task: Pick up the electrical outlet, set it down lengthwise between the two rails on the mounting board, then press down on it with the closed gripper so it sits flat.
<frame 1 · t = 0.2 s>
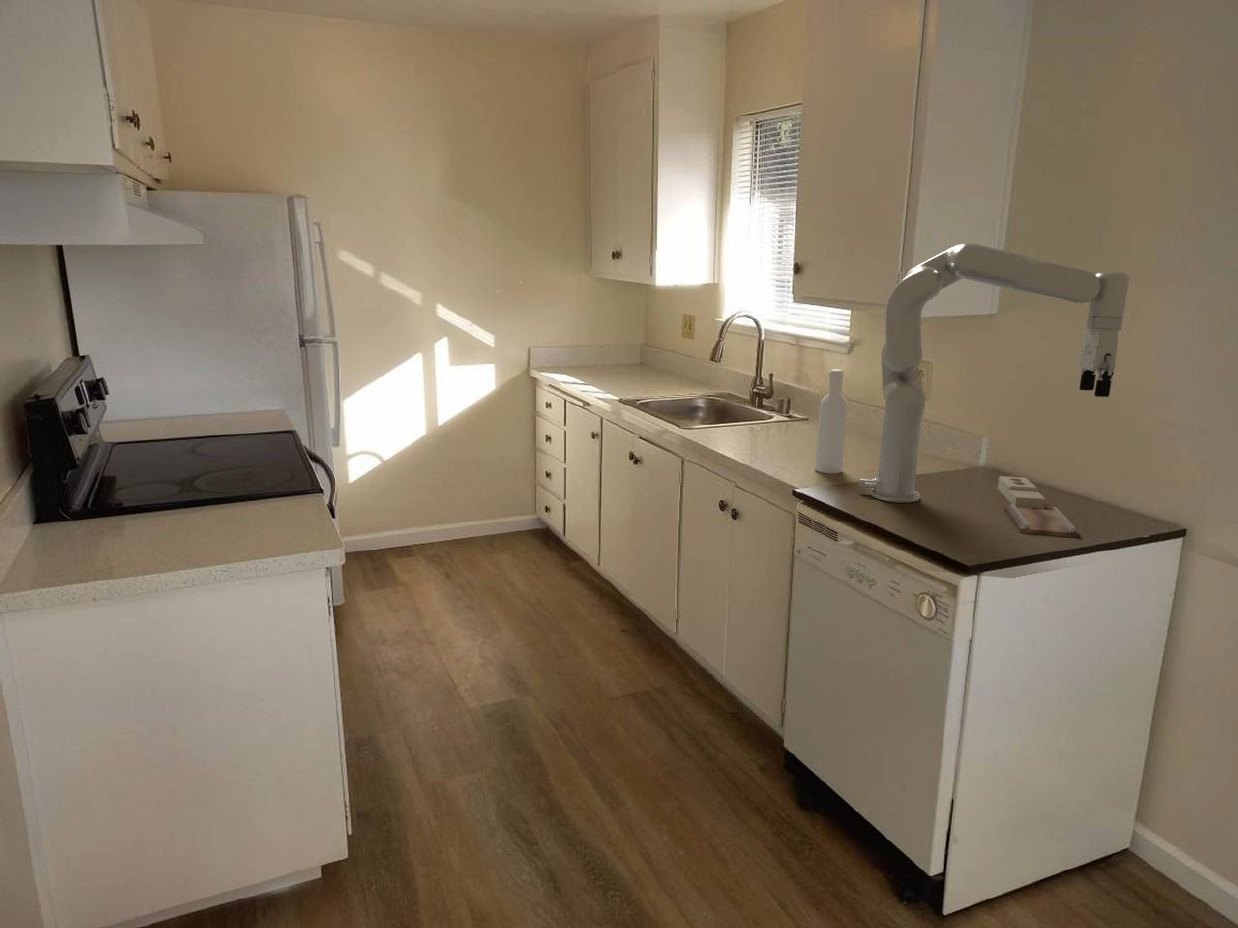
hand: (1093, 393, 214), 30 cm above the worktop, tool pointing down, fingers open, 9 cm apart
bottle: (828, 471, 256), on the worktop
electrical outlet: (1019, 500, 231), on the worktop
rail board: (1040, 523, 210), on the worktop
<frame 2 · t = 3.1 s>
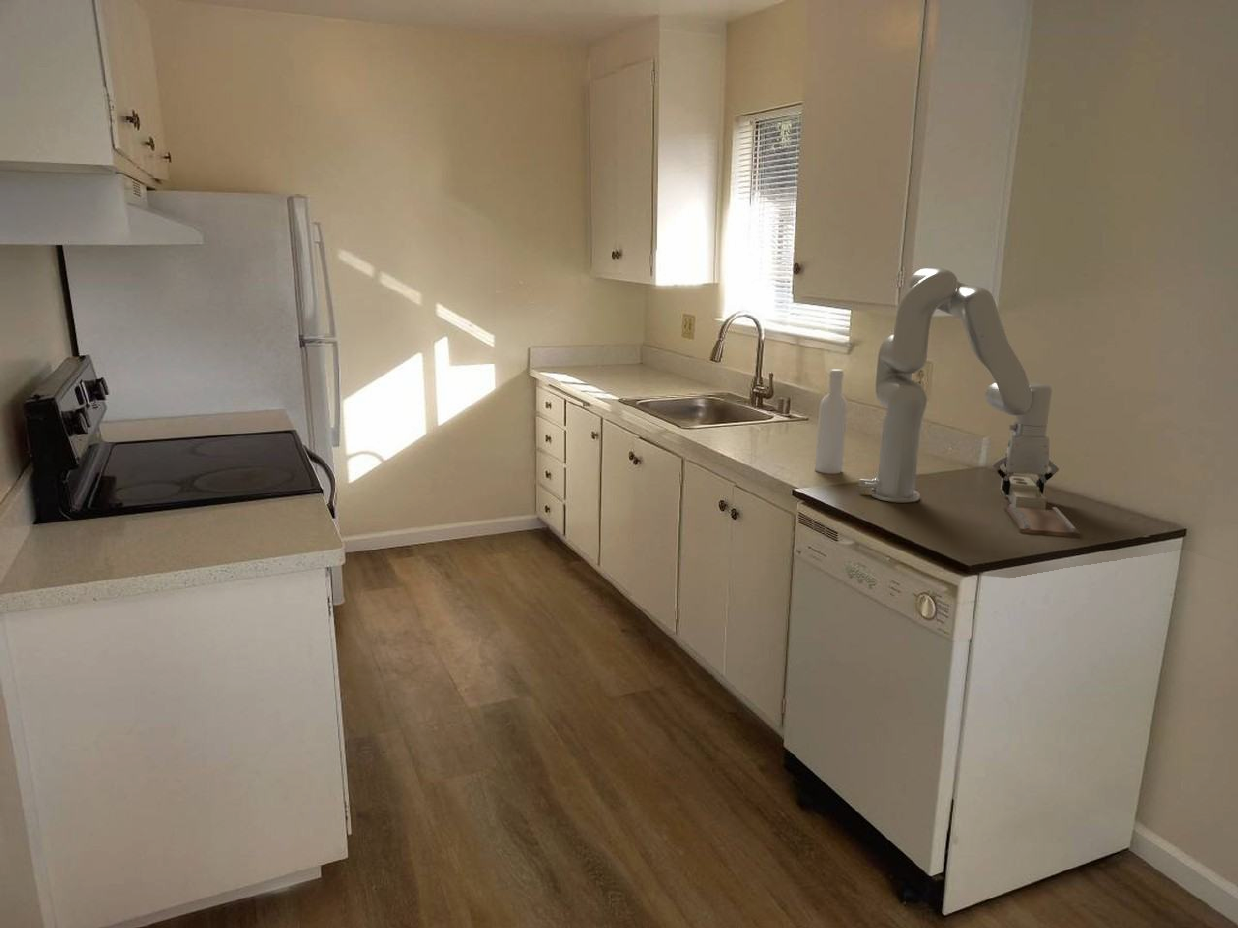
hand: (1021, 494, 231), 1 cm above the worktop, tool pointing down, fingers closed on electrical outlet, 7 cm apart
electrical outlet: (1021, 500, 230), on the worktop, touching gripper
everything else where it was.
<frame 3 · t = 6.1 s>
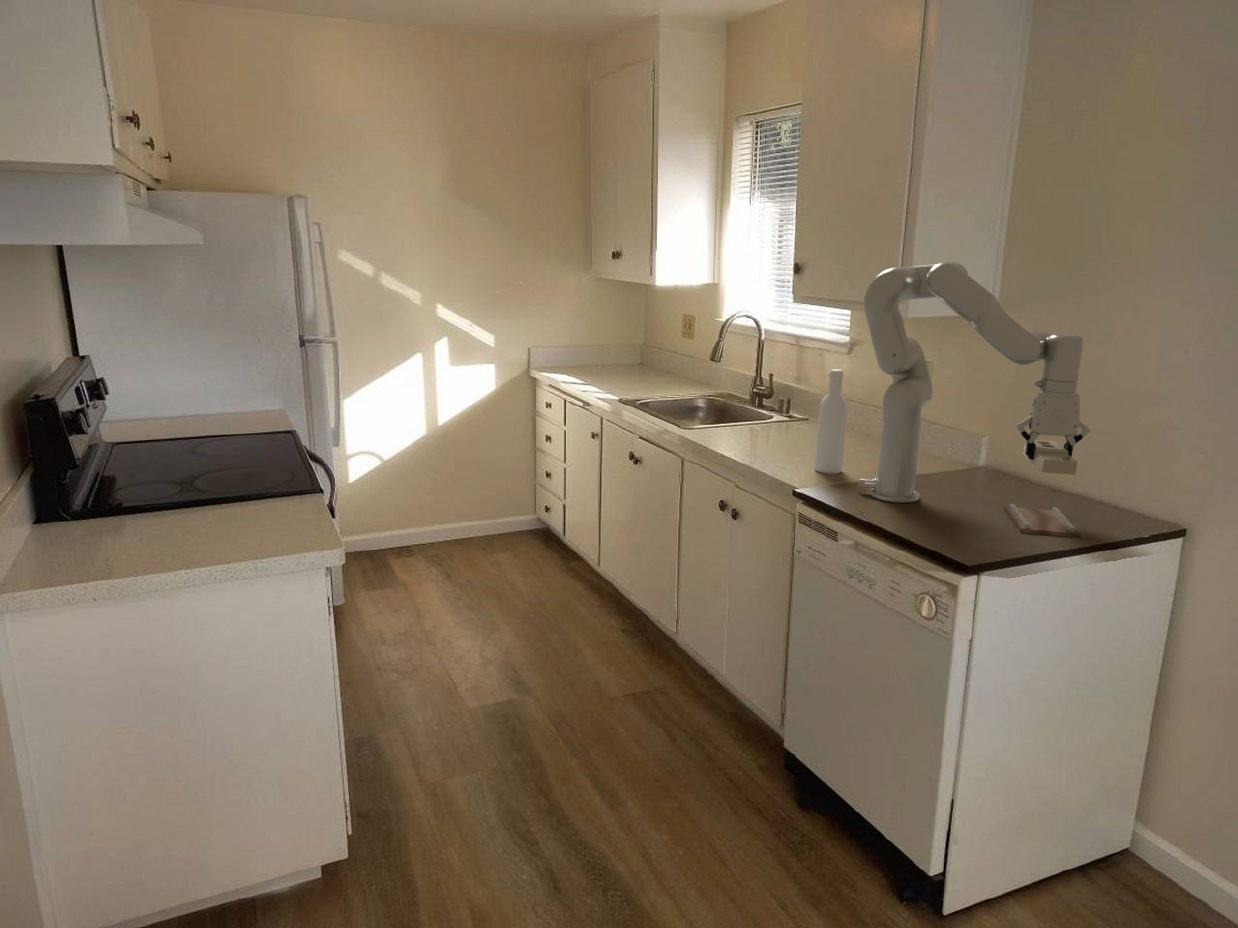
hand: (1047, 459, 208), 16 cm above the worktop, tool pointing down, fingers closed on electrical outlet, 7 cm apart
electrical outlet: (1047, 464, 207), point 15 cm above the worktop, touching gripper
everything else where it was.
when the fingers open (4 cm above the worktop, at t = 9.0 s): electrical outlet drops 2 cm, resting on rail board.
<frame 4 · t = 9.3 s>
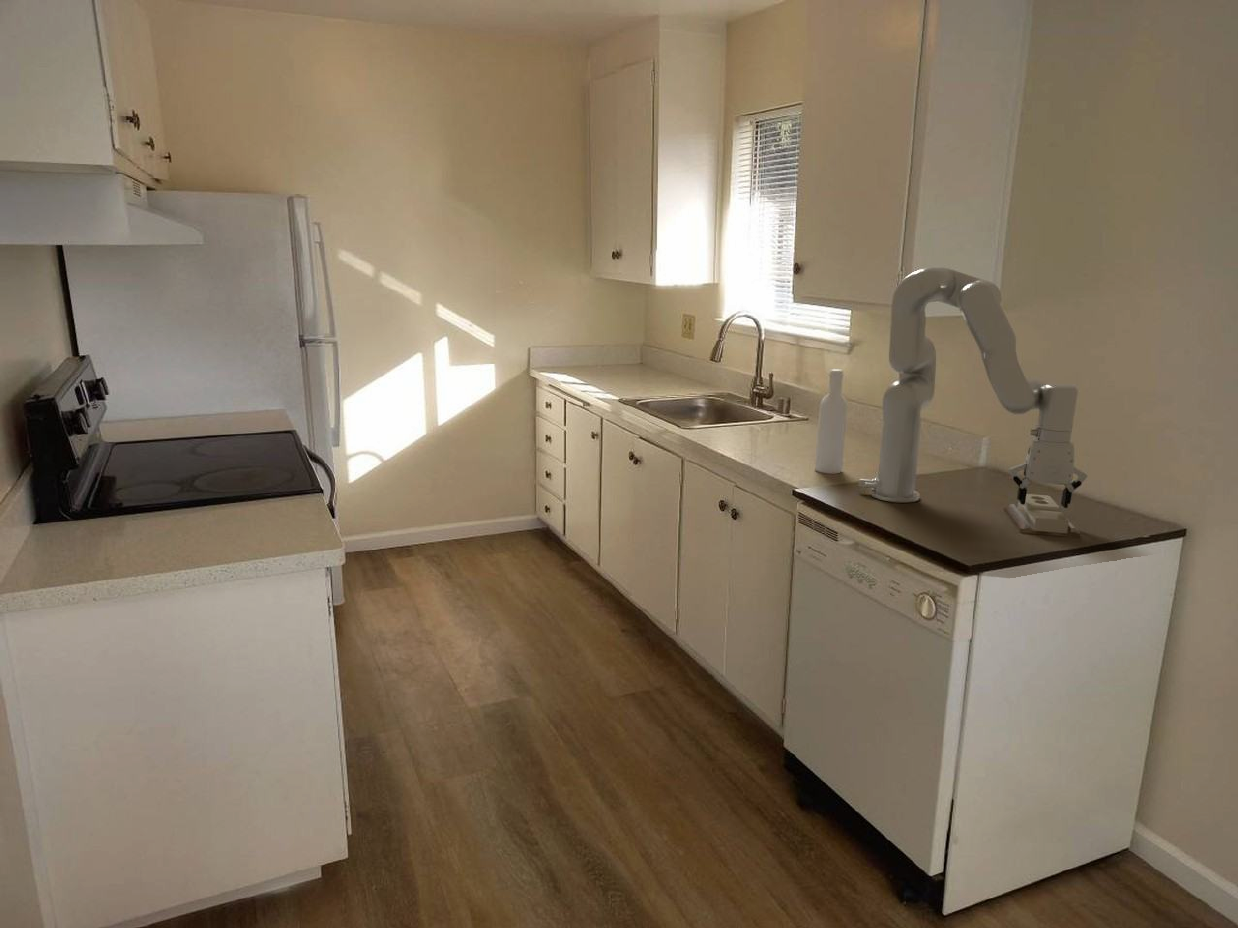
hand: (1042, 504, 209), 5 cm above the worktop, tool pointing down, fingers open, 9 cm apart
electrical outlet: (1040, 521, 209), point 1 cm above the worktop, touching rail board
everything else where it was.
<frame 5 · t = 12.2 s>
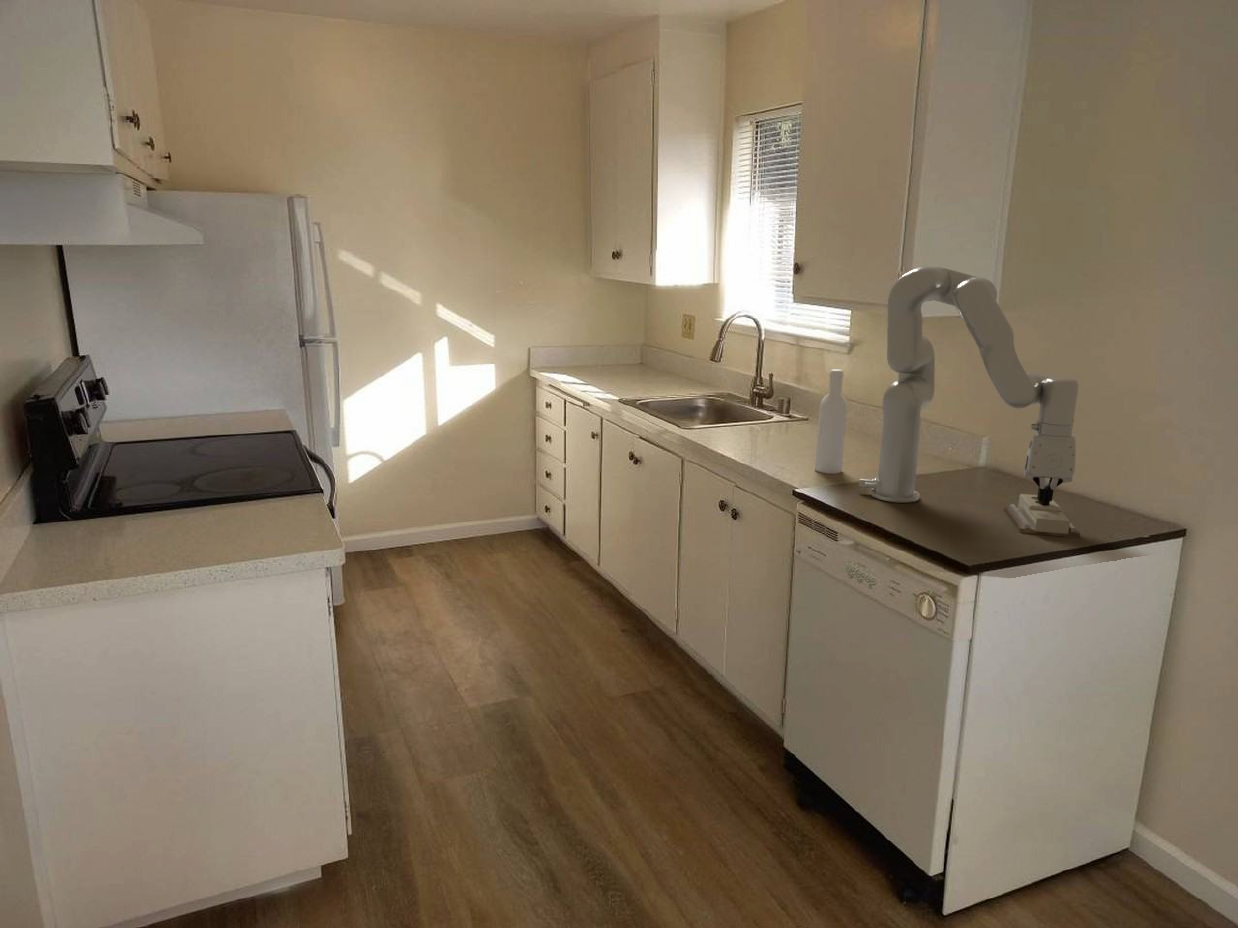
hand: (1043, 503, 209), 5 cm above the worktop, tool pointing down, fingers closed
electrical outlet: (1041, 521, 209), point 1 cm above the worktop, touching gripper, rail board
everything else where it was.
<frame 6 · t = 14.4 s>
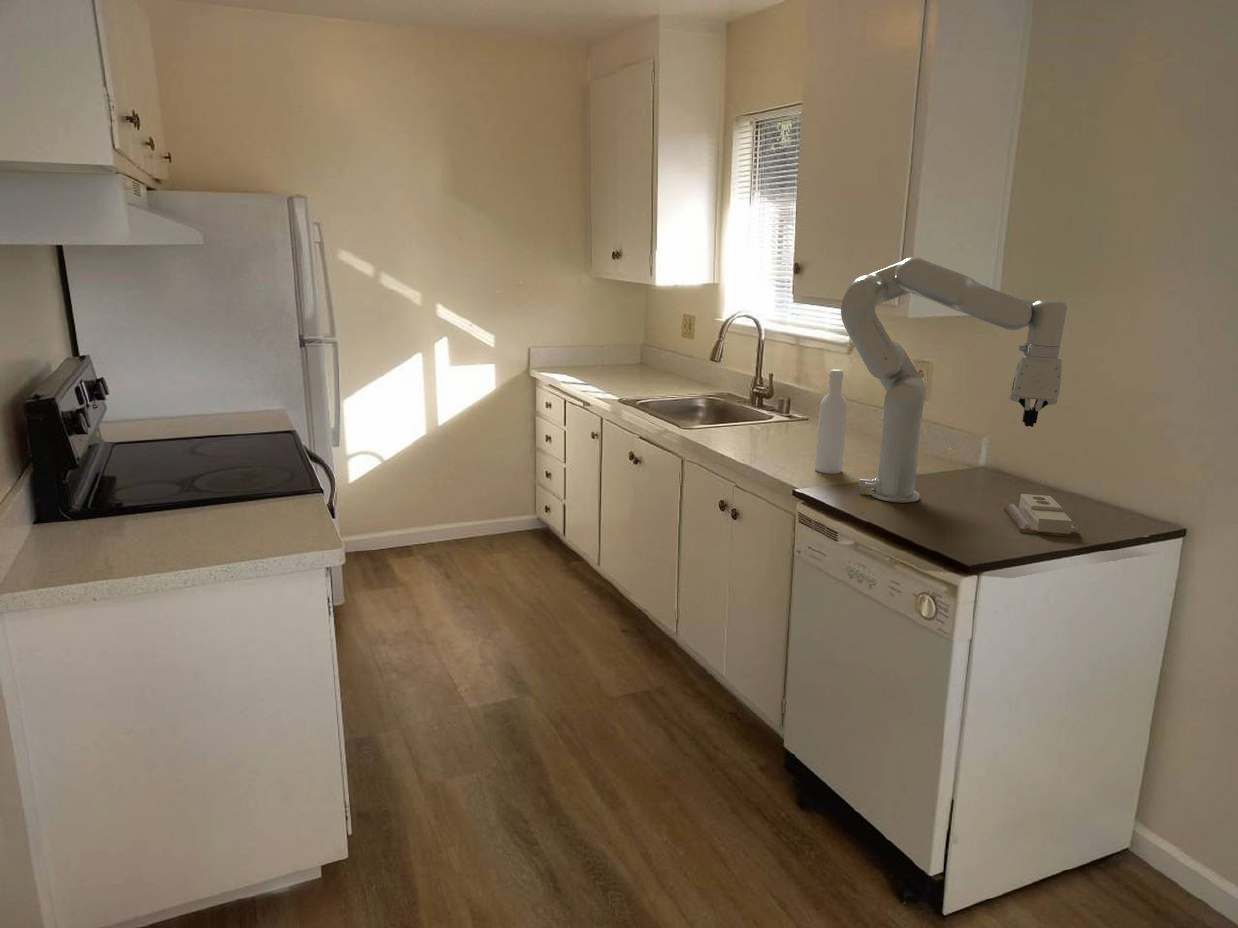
hand: (1028, 425, 214), 22 cm above the worktop, tool pointing down, fingers closed
electrical outlet: (1043, 521, 209), point 1 cm above the worktop, touching rail board
everything else where it was.
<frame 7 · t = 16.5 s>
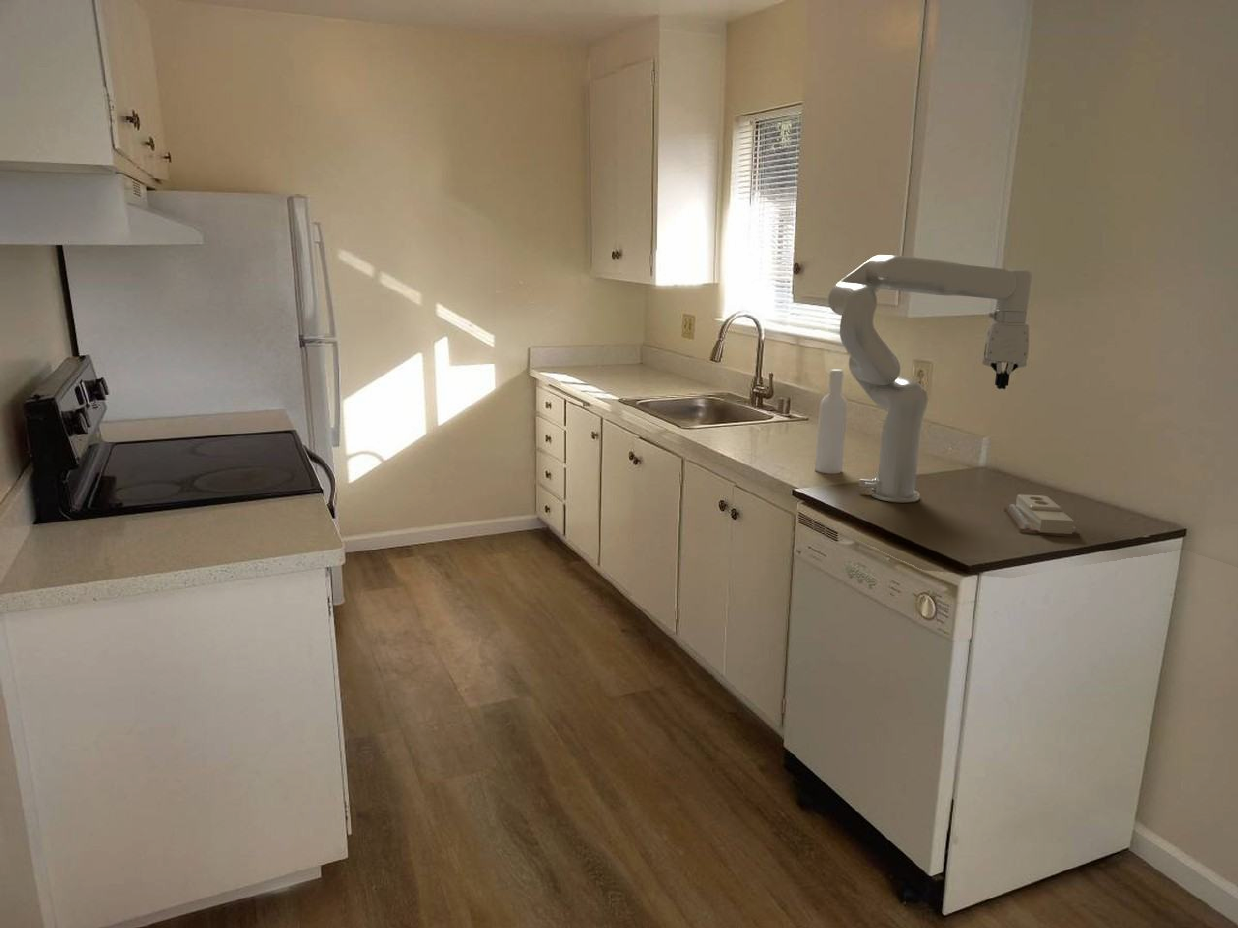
hand: (1000, 388, 227), 29 cm above the worktop, tool pointing down, fingers closed
at the end: electrical outlet 1.3 cm off-centre on the rail board, point 0.8 cm above the rail board's base; electrical outlet tilted 0°; the gripper is holding nothing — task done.
